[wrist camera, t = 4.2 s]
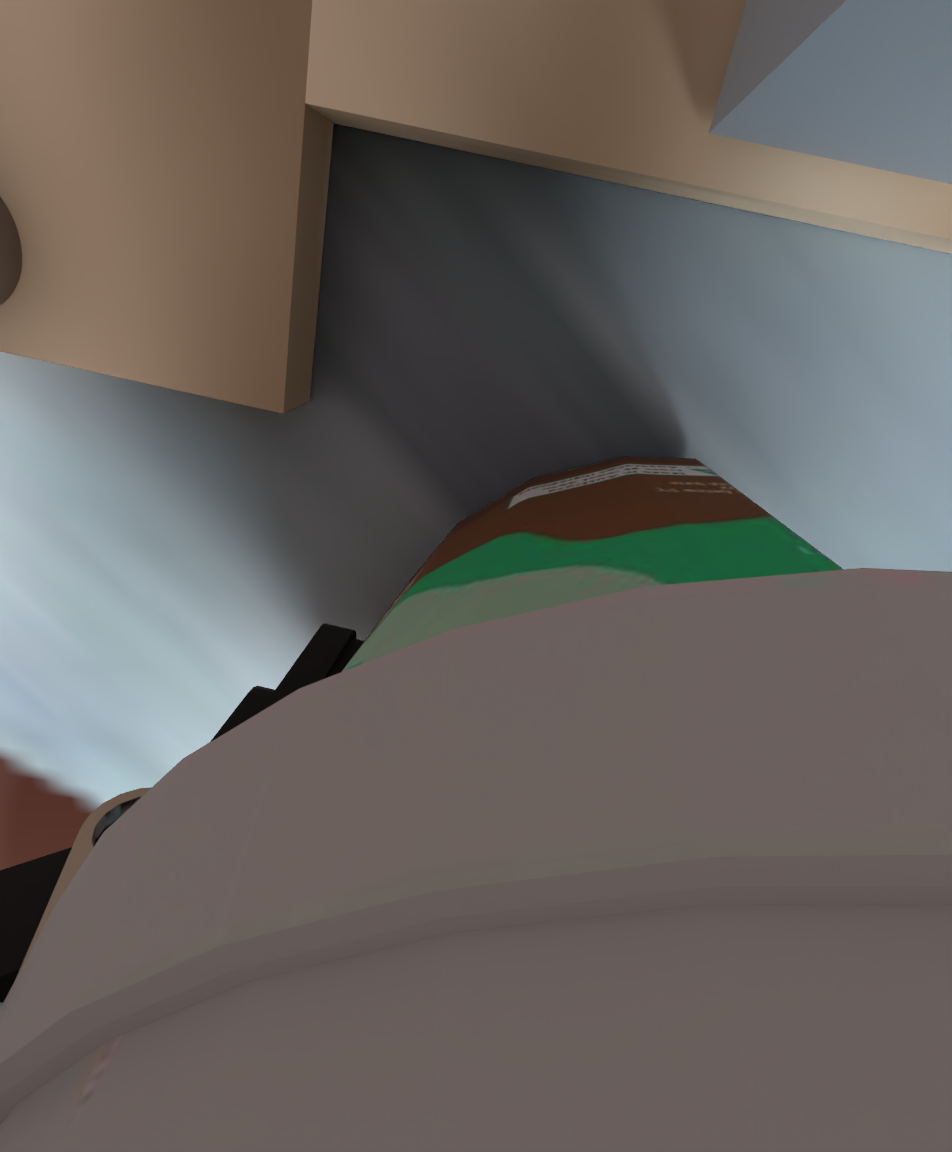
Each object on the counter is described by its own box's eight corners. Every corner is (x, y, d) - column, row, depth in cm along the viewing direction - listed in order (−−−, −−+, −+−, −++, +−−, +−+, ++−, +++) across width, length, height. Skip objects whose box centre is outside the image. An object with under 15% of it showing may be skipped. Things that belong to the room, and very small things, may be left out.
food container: (324, 322, 11) (-1087, 601, 2) (718, 362, 10) (1988, 1098, 1) (331, 876, 16) (12, 1684, 7) (591, 920, 15) (625, 1854, 6)
